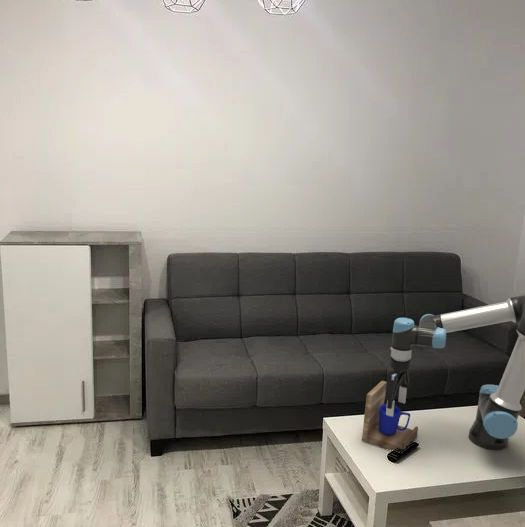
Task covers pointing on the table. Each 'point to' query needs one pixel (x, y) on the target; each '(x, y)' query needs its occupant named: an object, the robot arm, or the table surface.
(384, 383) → the wall board
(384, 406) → the mug
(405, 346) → the robot arm
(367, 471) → the table surface
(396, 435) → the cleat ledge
